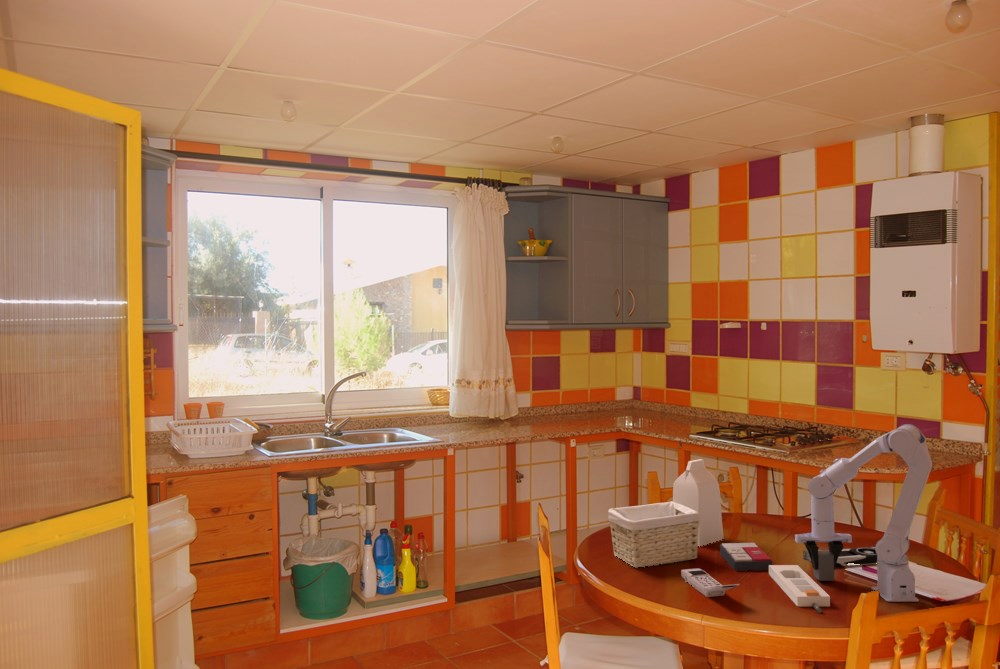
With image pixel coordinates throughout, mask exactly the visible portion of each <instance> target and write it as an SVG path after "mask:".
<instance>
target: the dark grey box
mask: <svg viewBox="0 0 1000 669" xmlns="http://www.w3.org/2000/svg"><path fill="white" fill-rule="evenodd" d="M720 555H721V556H722V557H723V558H724V561H727V562H728V563H729V564H728V563H727V562H726V563H727V564H728V565H729V566H730V568H733V569H734V570H735V572H739V571H740V572H743V571H744V572H745V571H747V570H754V571H769V565H773V560H772V559H771V558H770V557H769V556H768V555H767V554H766V553H765V552H764V551H763V550H762V549H761V548H760V547H759V545H758V544H757V543H755V542H729V543H728V542H727V543H720V544H719V556H720ZM721 556H720V557H721ZM722 557H721V558H722ZM723 558H722V559H723ZM733 569H732V570H733ZM734 570H733V571H734Z"/></svg>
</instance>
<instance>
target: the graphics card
mask: <svg viewBox="0 0 1000 669" xmlns="http://www.w3.org/2000/svg"><path fill="white" fill-rule="evenodd" d="M875 547H876V546H868V547H857V548H856V547H855V548H843V549H842V551H841V553H840V555H839V557H838V559H837V562H836V567H835V568H846V567H845V565H846V564H848V563H854V564H860V565H865V566H873V565H872V564H876V563H877V556H878V555H877V553H876V550H875ZM827 550H828V551H829V549H827ZM802 554H803V555H802V556H803V557H802V559H803V560H807V561H809V562H811V558H810V555H809V553H808V550H807V549H806V550H802ZM811 563H812V562H811Z"/></svg>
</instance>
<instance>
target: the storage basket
mask: <svg viewBox="0 0 1000 669" xmlns="http://www.w3.org/2000/svg"><path fill="white" fill-rule="evenodd" d="M678 513H680V514H682V515H678ZM607 514H608V515H607V516H608V522H609V526H610V533H611V540H612V547H613V548H612V550H613V554H614V557H616V556H617V557H618V558H617V557H616V558H617V559H619V558H620V559H622V560H623V561H625V562H626V563H625V562H624V563H625V564H627V563H628V564H630V565H631V566H633V567H632V568H634V567H635V569H639V568H638V567H644V568H646V567H645V566H648V567H652V566H653V565H654V566H660V565H659V564H661V565H666V564H675V563H678V562H683V561H690V560H695V559H697V558H698V527H699V513H698V512H697V511H695V510H692V509H690V508H688V507H685V506H683V505H681V504H678V503H675V502H673V501H668V502H656V503H651V504H642V505H634V506H623V507H613V508H609V509H608V511H607ZM620 559H619V560H620ZM622 560H621V561H622ZM623 561H622V562H623ZM674 562H675V563H674ZM628 564H627V565H628ZM630 565H629V566H630ZM631 566H630V567H631ZM654 566H653V567H654Z"/></svg>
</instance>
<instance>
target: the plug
mask: <svg viewBox="0 0 1000 669" xmlns="http://www.w3.org/2000/svg"><path fill="white" fill-rule="evenodd" d="M828 550H829V549H827V550H822V549H818V570H815V569H814V568H813V576H814V578H816V579H817V580H818V581H820V582H821V581H823V582H824V581H826V582H829V581H835V570H834V555H833V554H832V553H831V552H830V551H828Z"/></svg>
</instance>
